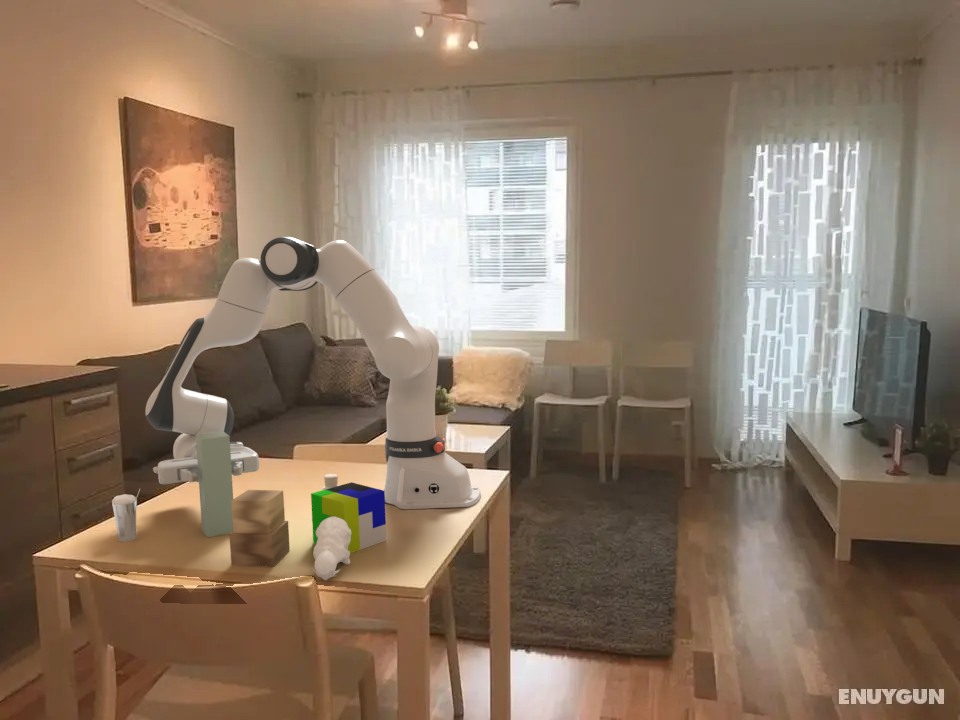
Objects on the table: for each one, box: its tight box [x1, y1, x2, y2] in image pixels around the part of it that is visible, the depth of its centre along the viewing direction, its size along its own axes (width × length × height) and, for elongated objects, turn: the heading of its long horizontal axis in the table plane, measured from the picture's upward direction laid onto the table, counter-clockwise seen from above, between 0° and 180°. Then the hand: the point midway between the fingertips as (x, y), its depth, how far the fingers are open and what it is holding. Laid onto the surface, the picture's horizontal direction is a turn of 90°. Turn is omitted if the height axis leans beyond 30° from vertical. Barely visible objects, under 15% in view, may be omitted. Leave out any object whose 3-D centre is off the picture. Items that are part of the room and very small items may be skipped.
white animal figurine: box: [312, 517, 351, 581], centre depth 146 cm, size 6×8×12 cm
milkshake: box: [111, 488, 141, 543], centre depth 165 cm, size 4×5×10 cm
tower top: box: [231, 489, 286, 534], centre depth 153 cm, size 7×7×6 cm
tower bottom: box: [229, 520, 291, 568], centre depth 153 cm, size 8×8×6 cm
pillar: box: [196, 431, 234, 538], centre depth 168 cm, size 6×6×20 cm
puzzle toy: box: [310, 481, 387, 554], centre depth 161 cm, size 10×10×10 cm
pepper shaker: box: [322, 473, 339, 490], centre depth 169 cm, size 5×5×11 cm
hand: (216, 474), depth 167 cm, fingers open, 7 cm apart
